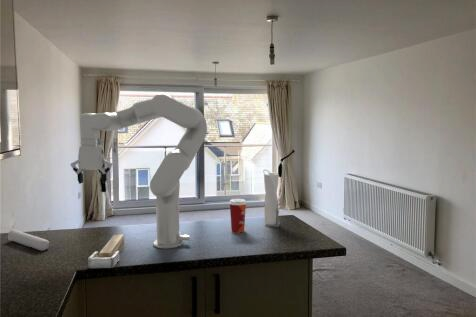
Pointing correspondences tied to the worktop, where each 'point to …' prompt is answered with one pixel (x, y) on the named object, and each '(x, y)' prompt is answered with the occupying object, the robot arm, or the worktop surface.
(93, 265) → the cup bracket
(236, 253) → the worktop surface
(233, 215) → the coffee cup
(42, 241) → the tube
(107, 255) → the maple rail
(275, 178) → the white bottle gift bag
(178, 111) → the robot arm
